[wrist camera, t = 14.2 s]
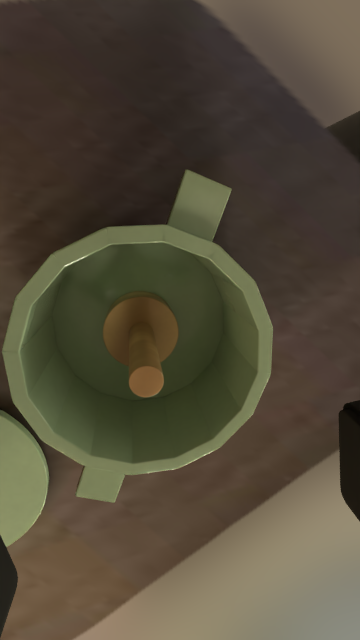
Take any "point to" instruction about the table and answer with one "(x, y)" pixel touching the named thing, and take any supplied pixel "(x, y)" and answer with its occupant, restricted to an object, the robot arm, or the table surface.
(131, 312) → the disc with rod handle
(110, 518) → the table surface
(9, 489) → the pot lid
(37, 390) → the pot
